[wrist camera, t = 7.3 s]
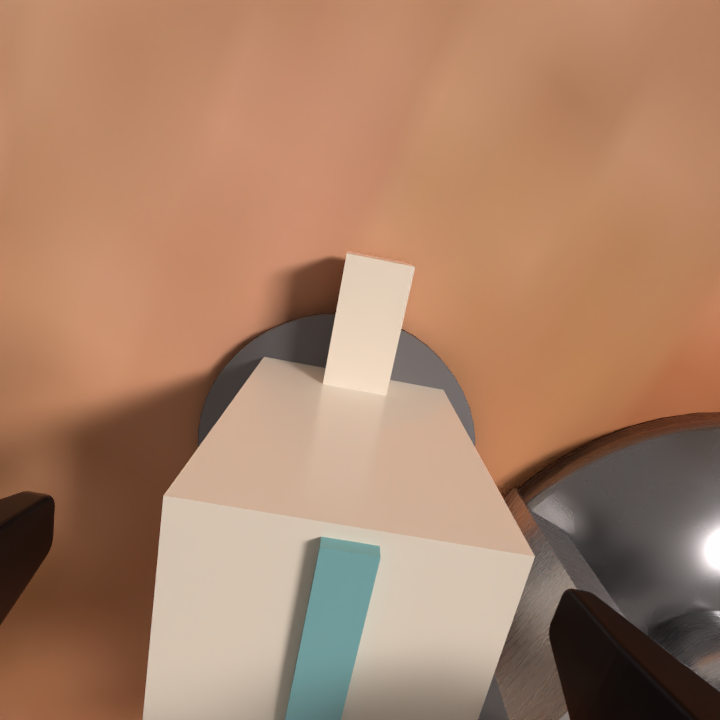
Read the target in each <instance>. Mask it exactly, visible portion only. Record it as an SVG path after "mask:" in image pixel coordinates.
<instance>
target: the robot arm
mask: <svg viewBox="0 0 720 720" xmlns="http://www.w3.org/2000/svg"><path fill="white" fill-rule="evenodd" d="M54 511H55V502H54V499H53V498H52V497H51V496H50V495H46V494H41V493H35V492H29V491H25V492H21V493H18V494H15V495H12V496H9V497H6V498H3V499H0V625H1V624H2V622H3V621H4V619H5V618H6V616H7V615H8V613H9V612H10V610H11V609H12V607H13V606H14V604H15V603H16V601H17V600H18V598H19V597H20V595H21V594H22V592H23V591H24V589H25V588H26V586H27V585H28V583H29V582H30V580H31V579H32V577H33V576H34V574H35V573H36V571H37V569H38V568H39V566H40V565H41V563H42V562H43V560H44V559H45V557H46V556H47V554H48V552H49V550H50V548H51V545H52V541H53V530H54ZM549 639H550V644H551V648H552V652H553V656H554V660H555V664H556V667H557V671H558V675H559V679H560V683H561V687H562V691H563V695H564V698H565V702H566V706H567V710H568V714H569V718H570V720H720V692H719V691H718V690H717V689H716V688H714V687H713V686H712V685H710V684H709V683H708V682H707V681H705V680H704V679H703V678H701V677H700V676H699V675H698V674H696V673H695V672H694V671H692V670H691V669H690V668H689V667H687V666H686V665H685V664H683V663H682V662H681V661H680V660H678V659H677V658H676V657H674V656H673V655H672V654H671V653H669V652H668V651H667V650H665V649H664V648H663V647H662V646H660V645H659V644H658V643H656V642H655V641H654V640H653V639H651V638H650V637H649V636H647V635H646V634H645V633H644V632H642V631H641V630H640V629H638V628H637V627H636V626H635V625H633V624H632V623H631V622H629V621H628V620H627V619H626V618H624V617H623V616H622V615H620V614H619V613H618V612H617V611H615V610H614V609H613V608H611V607H610V606H609V605H608V604H606V603H605V602H604V601H602V600H601V599H600V598H598V597H597V596H596V595H595V594H593V593H591V592H589V591H583V590H578V589H572V588H570V589H567V590H565V591H564V592H563V594H562V596H561V599H560V601H559V604H558V606H557V608H556V611H555V613H554V616H553V618H552V621H551V623H550V627H549Z"/></svg>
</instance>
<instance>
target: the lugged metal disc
mask: <svg viewBox="0 0 720 720" xmlns="http://www.w3.org/2000/svg"><path fill="white" fill-rule="evenodd" d="M504 501H505V503H506V505H507V506H508V508H509V510H510V512H511V514H512V515H513V517H514V519H515V521H516V523H517V525H518V526H519V528H520V530H521V532H522V534H523V535H524V537H525V539H526V541H527V543H528V545H529V546H530V548H531V550H532V552H533V554H534V555H535V558H534V561H533V564H532V567H531V569H530V572H529V575H528V578H527V581H526V584H525V587H524V590H523V592H522V595H521V598H520V601H519V604H518V607H517V610H516V612H515V615H514V618H513V621H512V624H511V627H510V630H509V632H508V635H507V638H506V641H505V644H504V647H503V650H502V652H501V655H500V658H499V661H498V664H497V667H496V670H495V672H494V675H493V678H492V681H491V684H490V687H489V690H488V693H487V695H486V698H485V701H484V704H483V707H482V710H481V713H480V715H479V718H478V720H570V718H569V714H568V710H567V706H566V702H565V698H564V695H563V691H562V687H561V683H560V679H559V675H558V671H557V667H556V664H555V660H554V656H553V652H552V648H551V644H550V639H549V627H550V623H551V621H552V618H553V616H554V613H555V611H556V608H557V606H558V604H559V601H560V599H561V596H562V594H563V592H564V591H565V590H567V589H570V588H572V589H578V590H583V591H589V592H591V593H593V594H595V595H596V596H597V597H598V598H600V599H601V600H602V601H604V602H605V603H606V604H608V605H609V606H610V607H611V608H613V609H614V610H615V611H617V612H618V613H619V614H620V615H622V616H623V617H624V618H626V619H627V620H628V621H629V622H631V623H632V624H633V625H635V626H636V627H637V628H638V629H640V630H641V631H642V632H644V633H645V634H646V635H647V636H649V637H650V638H651V639H653V640H654V641H655V642H656V643H658V644H659V645H660V646H662V647H663V648H664V649H665V650H667V651H668V652H669V653H671V654H672V655H673V656H674V657H676V658H677V659H678V660H680V661H681V662H682V663H683V664H685V665H686V666H687V667H689V668H690V669H691V670H692V671H694V672H695V673H696V674H698V675H699V676H700V677H701V678H703V679H704V680H705V681H707V682H708V683H709V684H710V685H712V686H713V687H714V688H716V689H717V690H718V691H719V692H720V413H696V414H689V415H682V416H675V417H668V418H662V419H658V420H654V421H650V422H647V423H643V424H639V425H635V426H631V427H627V428H625V429H622V430H620V431H617V432H615V433H612V434H609V435H607V436H604V437H602V438H599V439H596V440H594V441H592V442H590V443H588V444H586V445H584V446H582V447H580V448H578V449H576V450H574V451H573V452H571V453H569V454H567V455H565V456H563V457H561V458H560V459H558V460H557V461H555V462H554V463H552V464H551V465H549V466H548V467H546V468H545V469H543V470H542V471H540V472H539V473H537V474H536V475H534V476H533V477H532V478H530V479H529V480H528V481H527V482H526V483H525V484H523V485H522V486H521V487H520V488H519V489H517V488H515V487H513V489H512V490H511V491H510V492H509V493H508V495H507V496H506V497H505V498H504Z"/></svg>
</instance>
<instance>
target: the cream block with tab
mask: <svg viewBox="0 0 720 720" xmlns="http://www.w3.org/2000/svg"><path fill="white" fill-rule="evenodd" d="M414 270H415V267H414V266H413V265H411V264H409V263H406V262H401V261H396V260H391V259H386V258H381V257H376V256H371V255H366V254H361V253H356V252H351V251H347V255H346V260H345V266H344V271H343V277H342V282H341V288H340V293H339V298H338V304H337V309H336V315H335V320H334V326H333V331H332V337H331V342H330V348H329V353H328V358H327V364H326V368H323V367H317V366H312V365H306V364H301V363H295V362H290V361H285V360H279V359H274V358H268V357H264V358H263V359H262V360H261V362H260V363H259V365H258V366H257V367H256V369H255V370H254V371H253V373H252V374H251V376H250V377H249V378H248V380H247V381H246V382H245V384H244V385H243V387H242V388H241V389H240V391H239V392H238V393H237V395H236V396H235V398H234V399H233V400H232V402H231V403H230V405H229V406H228V407H227V409H226V410H225V411H224V413H223V414H222V416H221V417H220V418H219V420H218V421H217V422H216V424H215V425H214V427H213V428H212V429H211V431H210V432H209V433H208V435H207V436H206V438H205V439H204V440H203V442H202V443H201V444H200V446H199V447H198V449H197V450H196V451H195V453H194V454H193V455H192V457H191V458H190V460H189V461H188V462H187V464H186V465H185V467H184V468H183V469H182V471H181V472H180V473H179V475H178V476H177V478H176V479H175V480H174V482H173V483H172V484H171V486H170V487H169V489H168V490H167V491H166V493H165V494H164V495H163V506H162V516H161V527H160V538H159V549H158V559H157V570H156V581H155V592H154V603H153V613H152V624H151V635H150V646H149V657H148V667H147V678H146V689H145V700H144V711H143V720H478V718H479V715H480V713H481V710H482V707H483V704H484V701H485V698H486V695H487V693H488V690H489V687H490V684H491V681H492V678H493V675H494V672H495V670H496V667H497V664H498V661H499V658H500V655H501V652H502V650H503V647H504V644H505V641H506V638H507V635H508V632H509V630H510V627H511V624H512V621H513V618H514V615H515V612H516V610H517V607H518V604H519V601H520V598H521V595H522V592H523V590H524V587H525V584H526V581H527V578H528V575H529V572H530V569H531V567H532V564H533V561H534V558H535V555H534V554H533V552H532V550H531V548H530V546H529V545H528V543H527V541H526V539H525V537H524V535H523V534H522V532H521V530H520V528H519V526H518V525H517V523H516V521H515V519H514V517H513V515H512V514H511V512H510V510H509V508H508V506H507V505H506V503H505V501H504V499H503V497H502V495H501V494H500V492H499V490H498V488H497V486H496V485H495V483H494V481H493V479H492V477H491V475H490V474H489V472H488V470H487V468H486V466H485V465H484V463H483V461H482V459H481V457H480V455H479V454H478V452H477V450H476V448H475V446H474V445H473V443H472V441H471V439H470V437H469V436H468V434H467V432H466V430H465V428H464V426H463V425H462V423H461V421H460V419H459V417H458V416H457V414H456V412H455V410H454V408H453V406H452V405H451V403H450V401H449V399H448V397H447V396H446V394H445V392H444V390H442V389H437V388H431V387H426V386H420V385H415V384H409V383H404V382H399V381H393V380H390V377H391V373H392V368H393V364H394V359H395V355H396V350H397V346H398V341H399V337H400V332H401V328H402V324H403V319H404V315H405V310H406V306H407V301H408V297H409V292H410V288H411V283H412V279H413V274H414Z"/></svg>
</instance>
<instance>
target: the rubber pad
mask: <svg viewBox="0 0 720 720" xmlns="http://www.w3.org/2000/svg"><path fill="white" fill-rule="evenodd" d="M335 315H336V313H329V314H318V315H311V316H305V317H301V318H298V319H294V320H291V321H287V322H285V323H283V324H280V325H278V326H276V327H274V328H271V329H269V330H268V331H266V332H264V333H263V334H261V335H259V336H258V337H256V338H255V339H253V340H252V341H251V342H250V343H248V344H247V345H246V346H245V347H244V348H242V349H241V350H240V351H239V352H238V353H237V354H236V355H235V356H234V357H233V358H232V360H231V361H230V362H229V363H228V364H227V365H226V366H225V367H224V368H223V370H222V371H221V373H220V374H219V376H218V377H217V379H216V380H215V382H214V383H213V385H212V388H211V390H210V392H209V394H208V396H207V398H206V401H205V404H204V407H203V410H202V413H201V418H200V424H199V431H198V447H199V446H200V444H201V443H202V442H203V440H204V439H205V438H206V436H207V435H208V433H209V432H210V431H211V429H212V428H213V427H214V425H215V424H216V422H217V421H218V420H219V418H220V417H221V416H222V414H223V413H224V411H225V410H226V409H227V407H228V406H229V405H230V403H231V402H232V400H233V399H234V398H235V396H236V395H237V393H238V392H239V391H240V389H241V388H242V387H243V385H244V384H245V382H246V381H247V380H248V378H249V377H250V376H251V374H252V373H253V371H254V370H255V369H256V367H257V366H258V365H259V363H260V362H261V360H262V359H263V358H264V357H268V358H274V359H279V360H285V361H290V362H295V363H301V364H306V365H312V366H317V367H323V368H326V364H327V358H328V353H329V348H330V342H331V337H332V331H333V326H334V320H335ZM390 380H393V381H399V382H404V383H409V384H415V385H420V386H426V387H431V388H437V389H442V390H444V392H445V394H446V396H447V397H448V399H449V401H450V403H451V405H452V406H453V408H454V410H455V412H456V414H457V416H458V417H459V419H460V421H461V423H462V425H463V426H464V428H465V430H466V432H467V434H468V436H469V437H470V439H471V441H472V443H473V445H474V446H475V433H474V424H473V420H472V415H471V411H470V407H469V405H468V403H467V400H466V398H465V395H464V393H463V391H462V389H461V387H460V385H459V384H458V382H457V380H456V379H455V377H454V375H453V374H452V372H451V371H450V370H449V368H448V367H447V366H446V365H445V363H444V362H443V361H442V360H441V358H440V357H439V356H438V355H437V354H436V353H435V352H434V351H432V350H431V349H430V348H429V347H428V346H427V345H426V344H424V343H423V342H422V341H420V340H419V339H418V338H416V337H415V336H414V335H412V334H410V333H408V332H406V331H405V330H403V329H401V332H400V337H399V341H398V346H397V350H396V355H395V359H394V364H393V368H392V373H391V377H390Z"/></svg>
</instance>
